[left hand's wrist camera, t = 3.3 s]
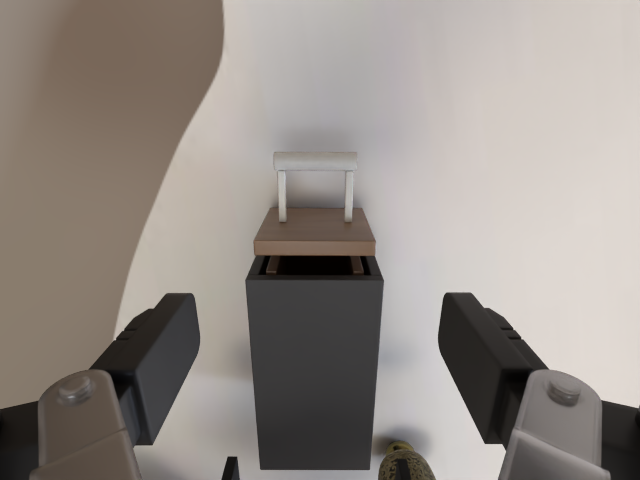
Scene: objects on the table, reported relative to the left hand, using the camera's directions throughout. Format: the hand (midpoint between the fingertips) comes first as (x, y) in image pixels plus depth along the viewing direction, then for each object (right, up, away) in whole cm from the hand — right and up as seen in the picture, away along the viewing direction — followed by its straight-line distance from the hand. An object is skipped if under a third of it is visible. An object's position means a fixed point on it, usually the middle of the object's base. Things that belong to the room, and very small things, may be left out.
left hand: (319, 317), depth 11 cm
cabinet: (0, -6, +28) cm, 28 cm away
